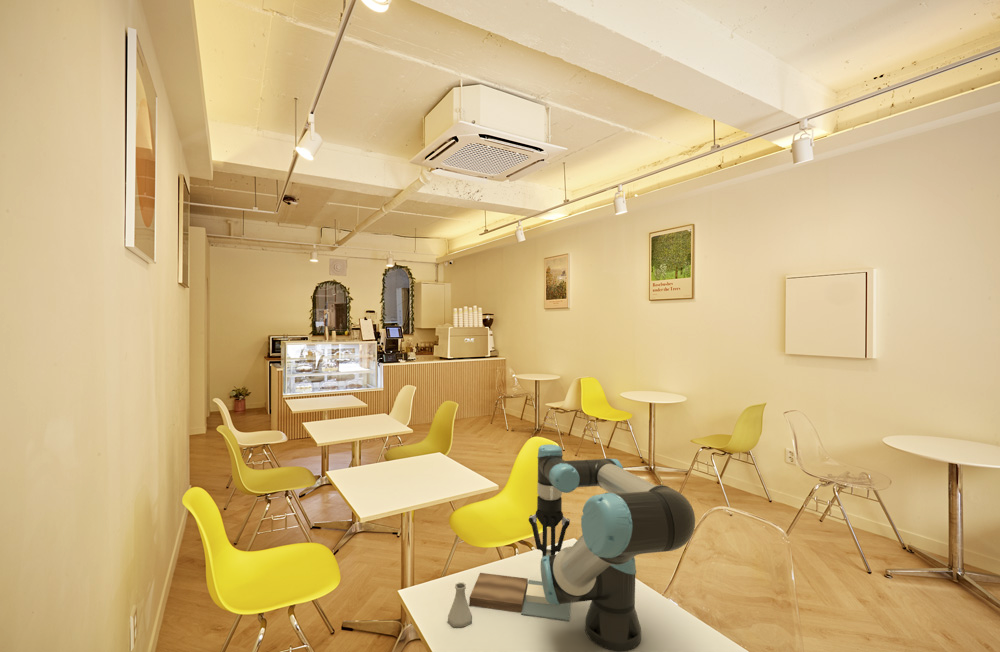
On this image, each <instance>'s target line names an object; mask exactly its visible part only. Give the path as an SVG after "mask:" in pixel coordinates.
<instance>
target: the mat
mask: <svg viewBox="0 0 1000 652" xmlns="http://www.w3.org/2000/svg"><path fill="white" fill-rule="evenodd" d="M528 584H533V585H542V580H533V579H528ZM542 586H543V585H542ZM527 587H528V585H527ZM526 592H527V590H526ZM520 615H521V616H527V617H534V618H541V619H548V620H549V619H550V620H556V621H562V622H563V621H564V622H570V619H571V618H570V615H571V603H566V604H560V605H558V604H555V605H551V604H543V603H535V602H527V601H526V594H525V599H524V603H523V608H522V612H521V613H520Z"/></svg>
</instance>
